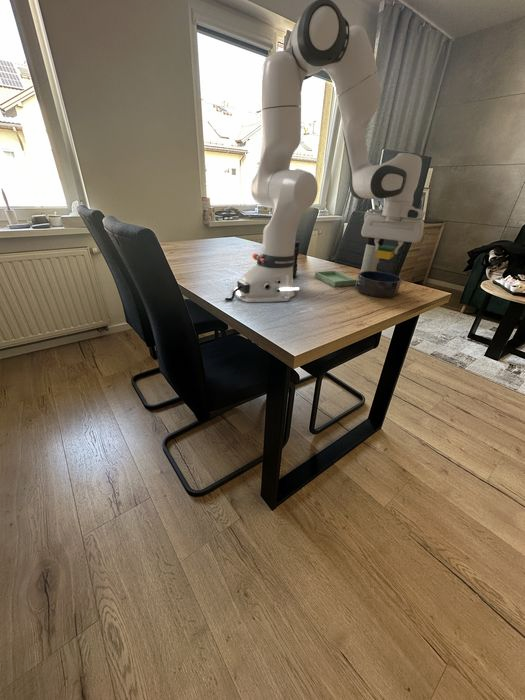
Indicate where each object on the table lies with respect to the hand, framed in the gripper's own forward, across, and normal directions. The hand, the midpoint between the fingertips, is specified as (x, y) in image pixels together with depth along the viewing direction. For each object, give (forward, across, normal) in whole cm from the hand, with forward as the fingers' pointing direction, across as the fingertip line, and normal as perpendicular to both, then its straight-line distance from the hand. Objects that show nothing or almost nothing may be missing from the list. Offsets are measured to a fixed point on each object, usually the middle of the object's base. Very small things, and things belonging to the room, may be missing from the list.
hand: (386, 252), depth 103 cm
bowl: (+15, 0, +1) cm, 15 cm away
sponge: (+2, 0, 0) cm, 2 cm away
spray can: (+15, -8, +16) cm, 24 cm away
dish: (+15, -19, +4) cm, 24 cm away
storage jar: (+15, -39, -5) cm, 42 cm away
